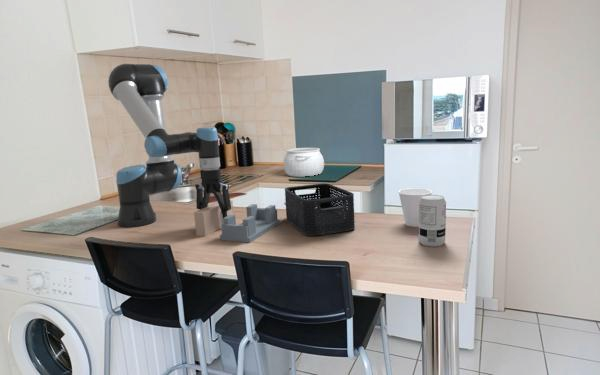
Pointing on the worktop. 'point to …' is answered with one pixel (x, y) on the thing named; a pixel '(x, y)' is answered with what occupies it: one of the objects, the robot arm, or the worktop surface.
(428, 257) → the worktop surface
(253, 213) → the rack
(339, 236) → the worktop surface
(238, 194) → the wooden tablet
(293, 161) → the pot
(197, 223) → the tan rectangular block
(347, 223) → the storage bin
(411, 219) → the cup
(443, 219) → the supplement can
